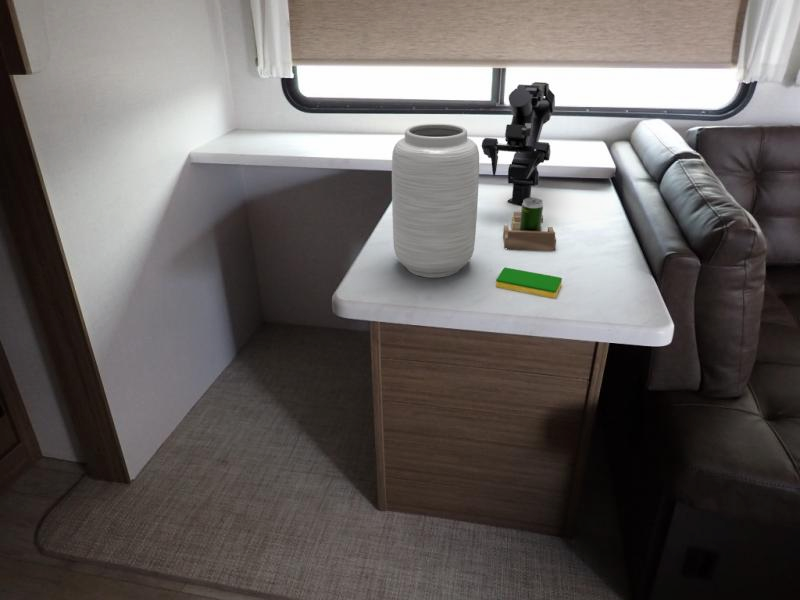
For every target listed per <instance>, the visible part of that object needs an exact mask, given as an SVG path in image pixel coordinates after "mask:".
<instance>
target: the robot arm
mask: <svg viewBox="0 0 800 600" xmlns="http://www.w3.org/2000/svg"><path fill="white" fill-rule="evenodd" d="M555 97H556V96H555V94H554V93H553V92H552V90H550V84H549V83H547V82H537V81H534V82H532V84H518V85H517V88H515V89H514V90H512V91H511V92H510V93H509V94H508V101H509V102H508V103H509V107H510V113H511V115H512V119H511V123H510V124H509V123H508V124H506V127H505V133H504V137H505V140H504V141H505V142H506V143H499V142H498V140H499V139H498V138H495V137H494V138H493V137H484V139H483V140H482V143H481V148H482V152H483V155H485V156H486V157H487V158H489V159H491V160H490V161H491V169H492V171H491V172H492V176H493V177H494V176H495V175H496V174H497V167H498V163H499V155H498V154H499V152H510V153H514V154H513V159H512V161H511V163H510V164H509V165H508V171H507V184H512V193H511V198H509V199H507V203H511V204H515V205H519V206H522V203H523V200H524V199H526V198H531V196H532V195H531V193H532V187H535V186H538V185H539V180H540V177H539V176H540V175H539V171H538V167H539V165H540V163H541V164H542V163H544V162H545V161H546V162H547V161H550V158H551V145H550V143H549V142H545V141H544V142H543V141H539V140H540V137H541V133H542V129H543V127H544V125H545V124H546V123H547V122H549V121H550V119H551V116H552V114H554V113H555V108H556V107H555V106H556V99H555Z"/></svg>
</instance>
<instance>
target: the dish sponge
mask: <svg viewBox="0 0 800 600" xmlns="http://www.w3.org/2000/svg"><path fill="white" fill-rule="evenodd" d="M562 282H563V278H562V277H560V276H553V275H550V274H549V275H548V274H543V273H537V272H534V271H533V272H532V271H526V270H521V269H515V268H511V267H503V269H502V270H501V271H500V273H499V274H498V276H497V278H496V281H495V287H496V288H499V289H504V290H505V289H506V290H509V291H515V292H521V293H525V294H530V295H535V296H541V297H545V298H550V299H555V298H557V295H558V293H559V291H560V289H561V286H562Z"/></svg>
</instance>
